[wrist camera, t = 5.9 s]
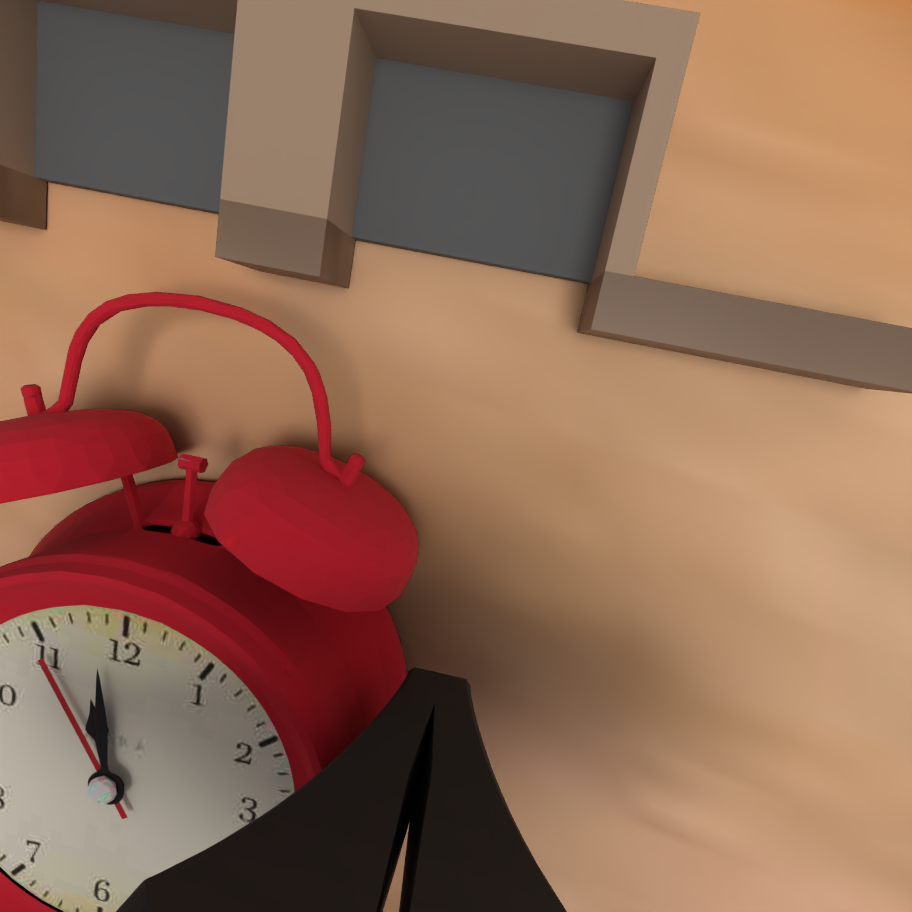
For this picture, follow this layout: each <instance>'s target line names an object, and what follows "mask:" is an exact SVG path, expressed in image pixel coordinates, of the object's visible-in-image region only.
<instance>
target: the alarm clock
mask: <svg viewBox="0 0 912 912" xmlns="http://www.w3.org/2000/svg"><path fill="white" fill-rule="evenodd" d="M147 306H171V307H179V308H186V309H193V310H200V311H205V312H209V313H212V314H216V315H220V316H224V317H228V318H231V319H234V320H237V321H239V322H241V323H244V324H246V325H249V326H251V327H253V328H255V329H257V330H259V331H261V332H263V333H264V334H266V335H268V336H269V337H271V338H272V339H274V340H276V341H277V342H278V343H279V344H280V345H281V346H282V347H283V348H285V349H286V350H287V351H288V352H289V353H290V354H291V355H292V356H293V357H294V359H295V360H296V362H297V363H298V364H299V366H300V367H301V369H302V370H303V372H304V373H305V376H306V379H307V381H308V384H309V386H310V389H311V392H312V396H313V402H314V408H315V414H316V420H317V429H318V444H319V452H317V451H313V450H309V449H305V448H301V447H293V446H284V445H280V446H268V447H261V448H257V449H254V450H252V451H250V452H249V453H247V454H245V455H243V456H242V457H240V458H238V459H236V460H235V461H233V462H232V463H231V464H230V465H229V466H228V467H227V469H226V470H225V471H224V472H223V474H222V475H221V476H220V477H219V479H218V480H217V481H216V483H214V482H206V481H198V480H197V472H199V473H203V472H205V470H206V468H207V466H208V462H207V459H206V458H201V457H196V456H192V455H187V454H182V455H181V456H180V457H179V459H178V466H179V468H181V469H185V470H186V479H182V480H168V481H160V482H152V483H147V484H143V485H138V486H136V485H135V482H134V478H133V475H132V474H135V473H139V472H142V471H146V470H149V469H152V468H155V467H158V466H161V465H164V464H167V463H170V462H172V461H173V460H175V459H176V458H178V456H177V453H176V450H175V447H174V444H173V442H172V439H171V437H170V435H169V433H168V431H167V429H165V428H164V427H163V426H162V425H161V424H160V423H159V422H158V421H157V420H156V419H154V418H152V417H149V416H147V415H144V414H142V413H139V412H135V411H128V410H117V409H85V410H73V411H68V410H69V409H70V408H71V406H72V405H73V401H74V397H75V392H76V387H77V383H78V378H79V373H80V369H81V364H82V360H83V357H84V354H85V351H86V348H87V345H88V343H89V341H90V339H91V338H92V336H93V335H94V333H95V332H96V330H97V329H98V327H99V325H100V324H102V323H103V322H105V321H106V320H108V319H109V318H111V317H113V316H114V315H116V314H117V313H119V312H120V311H125V310H130V309H136V308H141V307H147ZM21 392H22V395H23V397H24V402H25V406H26V410H27V414H28V416H26V417H21V418H16V419H10V420H5V421H0V504H1V503H6V502H11V501H16V500H22V499H27V498H32V497H37V496H43V495H48V494H53V493H57V492H62V491H66V490H71V489H75V488H79V487H84V486H88V485H92V484H97V483H101V482H105V481H109V480H113V479H116V478H120V477H121V480H122V484H123V487H124V490H121V491H118V492H115V493H113V494H110V495H107V496H104V497H102V498H100V499H97V500H95V501H93V502H91V503H89V504H87V505H85V506H83V507H81V508H80V509H78V510H76V511H75V512H73V513H72V514H70V515H69V516H67V517H66V518H65V519H64V520H62V521H61V522H60V523H58V524H57V525H56V526H55V527H54V528H53V529H52V530H51V531H50V532H49V533H48V534H47V535H46V536H45V537H44V538H43V539H42V540H41V541H40V542H39V544H38V545H37V546H36V547H35V549H34V550H33V551H32V553H31V554H30V556H29V557H27V558H24V559H21V560H18V561H15V562H12V563H9V564H6V565H4V566H2V567H0V912H116V911H117V910H118V909H119V907H120V906H121V905H122V904H123V903H124V902H125V901H126V900H127V898H128V897H129V896H130V895H131V894H132V893H133V892H134V890H135V889H136V888H137V887H138V886H139V885H140V884H141V883H142V882H143V881H144V880H145V879H147V878H149V877H152V876H154V875H156V874H158V873H160V872H162V871H164V870H166V869H168V868H170V867H172V866H174V865H176V864H178V863H180V862H182V861H184V860H186V859H188V858H190V857H192V856H194V855H196V854H198V853H200V852H201V851H203V850H205V849H207V848H209V847H211V846H212V845H214V844H216V843H218V842H220V841H221V840H223V839H224V838H226V837H228V836H229V835H231V834H232V833H234V832H236V831H237V830H239V829H241V828H242V827H244V826H245V825H247V824H249V823H250V822H252V821H254V820H255V819H257V818H258V817H260V816H262V815H263V814H265V813H266V812H268V811H269V810H271V809H272V808H273V807H275V806H276V805H278V804H279V803H281V802H282V801H283V800H285V799H286V798H287V797H289V796H290V795H291V794H293V793H294V792H295V791H296V790H298V789H299V788H300V787H302V786H303V785H304V784H306V783H307V782H308V781H310V780H311V779H312V778H313V777H314V776H316V775H317V774H318V773H319V772H320V771H322V770H323V769H324V768H325V767H326V766H327V765H328V764H330V763H331V762H332V761H333V760H334V759H335V758H336V757H337V756H338V755H340V754H341V753H342V752H343V751H344V750H345V749H346V748H347V747H348V746H349V745H350V744H351V743H352V742H353V741H354V740H355V739H356V738H357V737H358V736H359V735H360V734H361V733H362V732H363V731H364V730H365V729H366V727H367V726H368V725H369V724H370V723H371V722H372V721H373V720H374V718H375V717H376V716H377V715H378V714H379V713H380V711H381V710H382V709H383V708H384V707H385V706H386V704H387V703H388V702H389V701H390V699H391V698H392V697H393V695H394V694H395V693H396V691H397V690H398V689H399V687H400V686H401V684H402V683H403V681H404V680H405V678H406V676H407V673H406V663H405V658H404V654H403V649H402V646H401V643H400V640H399V636H398V633H397V630H396V627H395V625H394V622H393V620H392V617H391V615H390V613H389V611H388V609H387V607H386V606H387V605H388V604H390V603H391V602H393V601H394V600H396V599H397V598H399V597H400V596H401V594H402V592H403V590H404V588H405V587H406V585H407V583H408V581H409V580H410V578H411V576H412V573H413V571H414V568H415V566H416V563H417V558H418V535H417V531H416V529H415V527H414V524H413V522H412V520H411V517H410V516H409V515H408V513H407V512H406V511H405V509H404V508H403V507H402V505H401V504H400V502H399V501H398V500H397V499H396V498H395V497H393V496H392V495H391V494H390V493H389V492H388V491H387V490H386V489H385V488H384V487H382V486H381V485H380V484H379V483H378V482H376V481H375V480H373V479H371V478H370V477H368V476H367V475H365V474H364V473H362V472H361V469H362V467H363V465H364V463H365V459H364V457H362V456H361V455H360V454H352V455H351V457H350V458H349V460H348V462H347V463H344V462H342V461H340V460H337V459H335V458H333V457H331V421H330V414H329V407H328V399H327V395H326V391H325V388H324V385H323V382H322V379H321V376H320V373H319V370H318V369H317V367H316V365H315V363H314V362H313V360H312V359H311V358H310V356H309V355H308V354H307V353H306V351H305V350H304V349H303V348H302V346H301V345H300V344H299V343H298V341H297V340H296V339H295V338H294V337H292V336H291V335H289V334H288V333H287V332H285V331H284V330H282V329H281V328H280V327H278V326H277V325H275V324H274V323H273V322H271V321H270V320H268V319H265V318H263V317H261V316H259V315H257V314H254V313H252V312H250V311H248V310H246V309H243V308H241V307H237V306H234V305H230V304H227V303H223V302H219V301H216V300H212V299H209V298H205V297H201V296H196V295H185V294H174V293H163V292H150V293H139V294H128V295H125V296H121V297H118V298H115V299H112V300H109V301H106V302H105V303H103V304H102V305H100V306H99V307H97V308H96V309H95V310H93V311H92V312H90V313H89V314H88V315H87V317H86V318H85V319H84V321H83V322H82V323H81V325H80V326H79V328H78V329H77V330H76V332H75V334H74V337H73V339H72V341H71V344H70V346H69V350H68V354H67V359H66V364H65V369H64V374H63V379H62V385H61V390H60V395H59V400H58V401H57V402H56V403H55V404H54V405H53V406H52V407H50V408H49V409H47V410H46V408H45V405H44V401H43V397H42V393H41V388H40V386H38V385H36V384H32V385H24V386H23V387H22V388H21Z"/></svg>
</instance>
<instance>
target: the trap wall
mask: <svg viewBox="0 0 912 912" xmlns="http://www.w3.org/2000/svg"><path fill="white" fill-rule="evenodd" d="M46 193H47V182H46V181H44V180H41V179H38V178H35V177H33V176H30V175H27V174H25V173H22V172H19V171H16V170H14V169H11V168H8V167H6V166H3V165H0V221H4V222H9V223H14V224H20V225H25V226H30V227H35V228H40V229H45V230H46ZM354 247H355V239H354V238H352V237H351V236H350V235H348V234H347V233H345V232H344V231H343V230H341V229H340V228H339V227H337V226H336V225H335V224H333V223H332V222H330V221H329V220H328V219H325V218H319V217H314V216H309V215H303V214H298V213H293V212H287V211H282V210H277V209H271V208H266V207H261V206H255V205H250V204H244V203H239V202H234V201H228V200H223V199H220V206H219V218H218V229H217V241H216V252H215V257H218V258H221V259H224V260H227V261H230V262H233V263H237V264H240V265H243V266H246V267H249V268H252V269H255V270H258V271H262V272H267V273H272V274H278V275H283V276H288V277H293V278H298V279H303V280H309V281H314V282H319V283H324V284H329V285H334V286H339V287H345V288H349V282H350V275H351V268H352V261H353V254H354ZM577 333H582V334H587V335H592V336H598V337H603V338H608V339H613V340H618V341H623V342H629V343H634V344H639V345H644V346H649V347H654V348H659V349H665V350H670V351H675V352H680V353H685V354H690V355H696V356H701V357H706V358H711V359H716V360H721V361H727V362H732V363H737V364H742V365H747V366H752V367H758V368H763V369H768V370H773V371H778V372H783V373H789V374H794V375H799V376H804V377H809V378H814V379H819V380H825V381H830V382H835V383H840V384H845V385H850V386H856V387H861V388H866V389H875V390H884V391H894V392H903V393H912V328H908V327H903V326H897V325H892V324H887V323H881V322H876V321H871V320H865V319H860V318H854V317H849V316H844V315H838V314H833V313H828V312H822V311H817V310H812V309H806V308H801V307H796V306H790V305H785V304H780V303H774V302H769V301H763V300H758V299H753V298H747V297H742V296H737V295H731V294H726V293H721V292H715V291H710V290H705V289H699V288H694V287H689V286H683V285H678V284H673V283H667V282H662V281H656V280H651V279H646V278H640V277H635V276H630V275H624V274H619V273H614V272H608V271H604V272H603V273H602V274H601V275H599V276H598V277H597V278H596V279H594V280H593V281H592V282H591V283H589V286H588V290H587V294H586V298H585V303H584V307H583V311H582V315H581V320H580V324H579V328H578V332H577Z"/></svg>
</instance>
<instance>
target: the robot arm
mask: <svg viewBox="0 0 912 912" xmlns="http://www.w3.org/2000/svg"><path fill="white" fill-rule="evenodd" d="M409 821H410V823H409ZM408 825H409V832H408V840H407V849H406V857H405V866H404V874H403V883H402V892H401V900H400V909H399V912H567V911H566V910H565V908H564V907H563V905H562V903H561V902H560V900H559V899H558V897H557V895H556V894H555V892H554V891H553V889H552V887H551V886H550V884H549V883H548V881H547V879H546V878H545V876H544V875H543V873H542V871H541V870H540V868H539V867H538V865H537V863H536V861H535V859H534V858H533V856H532V854H531V852H530V850H529V848H528V847H527V845H526V843H525V841H524V839H523V837H522V835H521V833H520V831H519V829H518V827H517V825H516V823H515V821H514V819H513V817H512V815H511V813H510V811H509V809H508V806H507V804H506V802H505V800H504V797H503V795H502V793H501V790H500V788H499V785H498V783H497V780H496V778H495V775H494V773H493V770H492V767H491V765H490V762H489V759H488V756H487V753H486V750H485V747H484V744H483V741H482V738H481V735H480V731H479V728H478V724H477V720H476V716H475V712H474V708H473V703H472V698H471V691H470V684H469V683H468V681H467V680H466V679H463V678H458V677H454V676H450V675H445V674H441V673H437V672H433V671H428V670H424V669H420V668H413V669H412V670H410V671H409V672H408V674H407V676H406V678H405V680H404V681H403V683H402V684H401V686H400V687H399V689H398V690H397V691H396V693H395V694H394V695H393V697H392V698H391V699H390V701H389V702H388V703H387V704H386V706H385V707H384V708H383V709H382V710H381V711H380V713H379V714H378V715H377V716H376V717H375V718H374V720H373V721H372V722H371V723H370V724H369V725H368V726H367V727H366V729H365V730H364V731H363V732H362V733H361V734H360V735H359V736H358V737H357V738H356V739H355V740H354V741H353V742H352V743H351V744H350V745H349V746H348V747H347V748H346V749H345V750H344V751H343V752H342V753H341V754H340V755H338V756H337V757H336V758H335V759H334V760H333V761H332V762H331V763H330V764H328V765H327V766H326V767H325V768H324V769H323V770H322V771H320V772H319V773H318V774H317V775H316V776H314V777H313V778H312V779H311V780H310V781H308V782H307V783H306V784H304V785H303V786H302V787H300V788H299V789H298V790H296V791H295V792H294V793H293V794H291V795H290V796H289V797H287V798H286V799H285V800H283V801H282V802H281V803H279V804H278V805H276V806H275V807H273V808H272V809H271V810H269V811H268V812H266V813H265V814H263V815H262V816H260V817H258V818H257V819H255V820H254V821H252V822H250V823H249V824H247V825H245V826H244V827H242V828H241V829H239V830H237V831H236V832H234V833H232V834H231V835H229V836H228V837H226V838H224V839H223V840H221V841H220V842H218V843H216V844H214V845H212V846H211V847H209V848H207V849H205V850H203V851H201V852H200V853H198V854H196V855H194V856H192V857H190V858H188V859H186V860H184V861H182V862H180V863H178V864H176V865H174V866H172V867H170V868H168V869H166V870H164V871H162V872H160V873H158V874H156V875H154V876H152V877H149V878H147V879H145V880H144V881H143V882H142V883H141V884H140V885H139V886H138V887H137V888H136V889H135V890H134V892H133V893H132V894H131V895H130V896H129V897H128V898H127V900H126V901H125V902H124V903H123V904H122V905H121V906H120V907H119V909H118V910H117V911H116V912H383V908H384V905H385V902H386V898H387V895H388V892H389V888H390V885H391V882H392V878H393V875H394V872H395V868H396V865H397V862H398V858H399V855H400V852H401V848H402V845H403V842H404V838H405V835H406V832H407V828H408Z"/></svg>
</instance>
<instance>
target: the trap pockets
mask: <svg viewBox="0 0 912 912" xmlns="http://www.w3.org/2000/svg"><path fill="white" fill-rule="evenodd" d="M699 16H700V13H698V12H692V11H686V10H680V9H673V8H667V7H661V6H654V5H648V4H642V3H636V2H629V1H623V0H0V165H3V166H6V167H8V168H11V169H14V170H16V171H19V172H22V173H25V174H27V175H30V176H33V177H35V178H38V179H41V180H44V181H46V182H51V183H56V184H62V185H67V186H72V187H78V188H83V189H88V190H94V191H99V192H104V193H110V194H115V195H120V196H125V197H131V198H136V199H141V200H147V201H152V202H157V203H163V204H168V205H173V206H178V207H184V208H189V209H194V210H200V211H205V212H210V213H216V214H219V206H220V199H223V200H228V201H234V202H239V203H244V204H250V205H255V206H261V207H266V208H271V209H277V210H282V211H287V212H293V213H298V214H303V215H309V216H314V217H319V218H325V219H328V220H329V221H330V222H332V223H333V224H335V225H336V226H337V227H339V228H340V229H341V230H343V231H344V232H345V233H347V234H348V235H350V236H351V237H352V238H354V239H355V240H359V241H364V242H369V243H375V244H380V245H385V246H391V247H396V248H401V249H407V250H412V251H417V252H422V253H428V254H433V255H438V256H444V257H449V258H454V259H460V260H465V261H470V262H475V263H481V264H486V265H491V266H497V267H502V268H507V269H513V270H518V271H523V272H529V273H534V274H539V275H544V276H550V277H555V278H560V279H566V280H571V281H576V282H582V283H587V284H589V283H591V282H592V281H593V280H594V279H596V278H597V277H598V276H599V275H601V274H602V273H603V272H604V271H608V272H614V273H619V274H624V275H630V276H634V273H635V269H636V265H637V261H638V257H639V253H640V249H641V245H642V242H643V238H644V234H645V230H646V226H647V222H648V218H649V214H650V210H651V206H652V202H653V198H654V194H655V190H656V186H657V182H658V178H659V174H660V170H661V166H662V162H663V159H664V155H665V151H666V147H667V143H668V139H669V135H670V131H671V127H672V123H673V119H674V115H675V111H676V107H677V103H678V99H679V95H680V91H681V87H682V83H683V80H684V76H685V72H686V68H687V64H688V60H689V56H690V52H691V48H692V44H693V40H694V36H695V32H696V28H697V24H698V20H699Z"/></svg>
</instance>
